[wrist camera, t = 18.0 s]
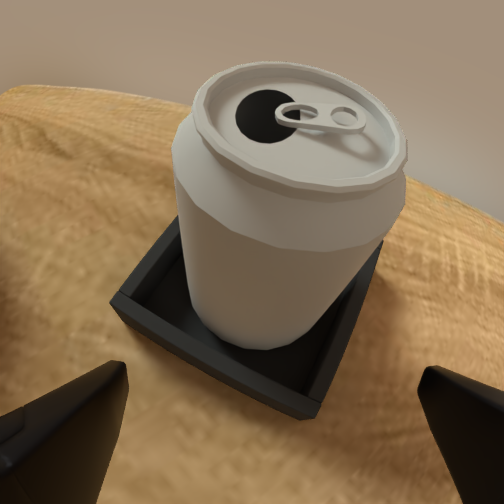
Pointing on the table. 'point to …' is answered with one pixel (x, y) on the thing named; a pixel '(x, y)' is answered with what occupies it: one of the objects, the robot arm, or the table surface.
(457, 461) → the robot arm
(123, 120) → the table surface
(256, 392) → the black square open tray
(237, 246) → the can
